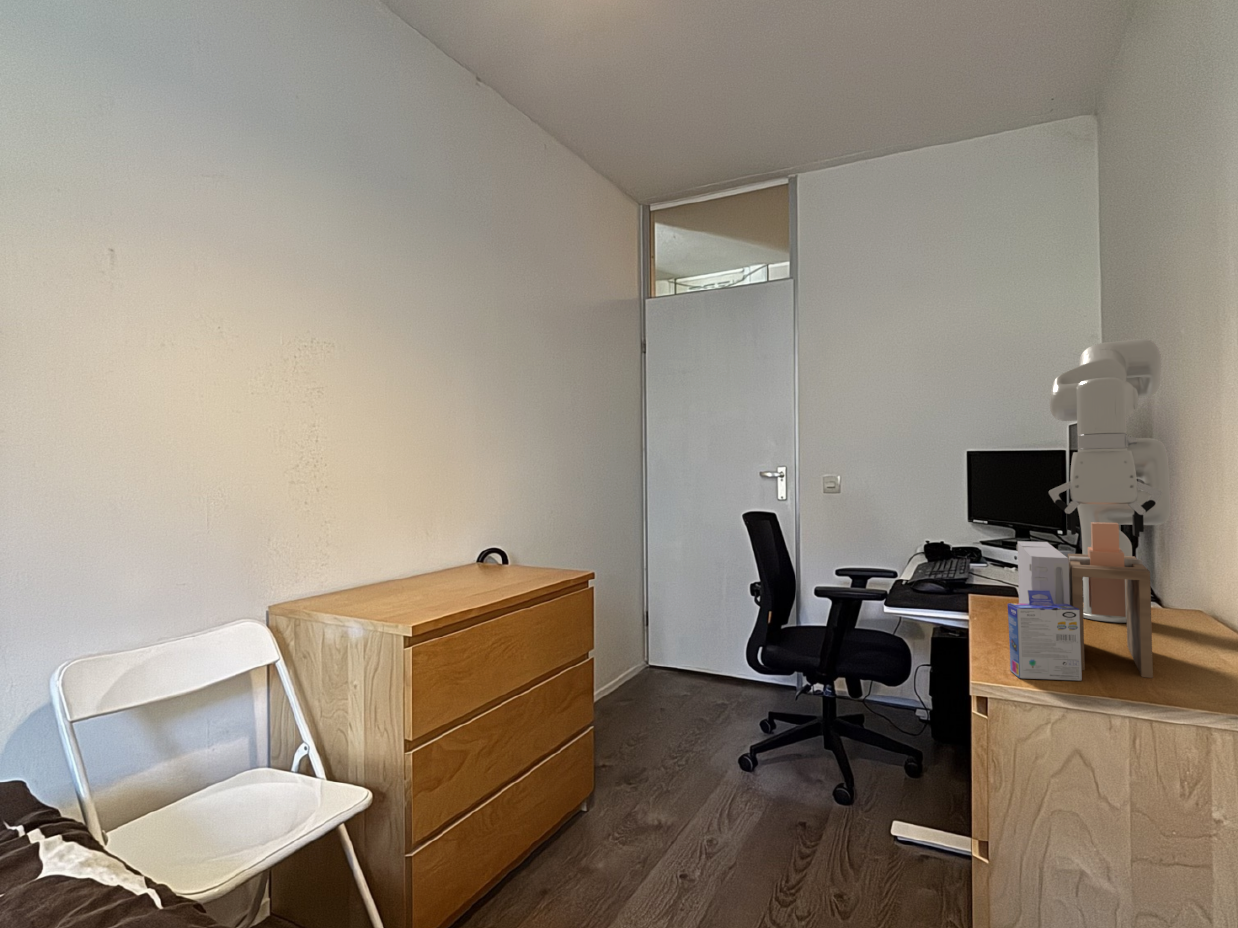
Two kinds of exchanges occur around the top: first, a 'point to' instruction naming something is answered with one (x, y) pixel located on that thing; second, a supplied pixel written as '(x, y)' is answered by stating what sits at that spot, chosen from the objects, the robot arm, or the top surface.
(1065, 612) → the ink cartridge box
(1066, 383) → the robot arm
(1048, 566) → the game console
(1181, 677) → the top surface
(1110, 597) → the salmon stepped block
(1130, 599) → the wooden rack
